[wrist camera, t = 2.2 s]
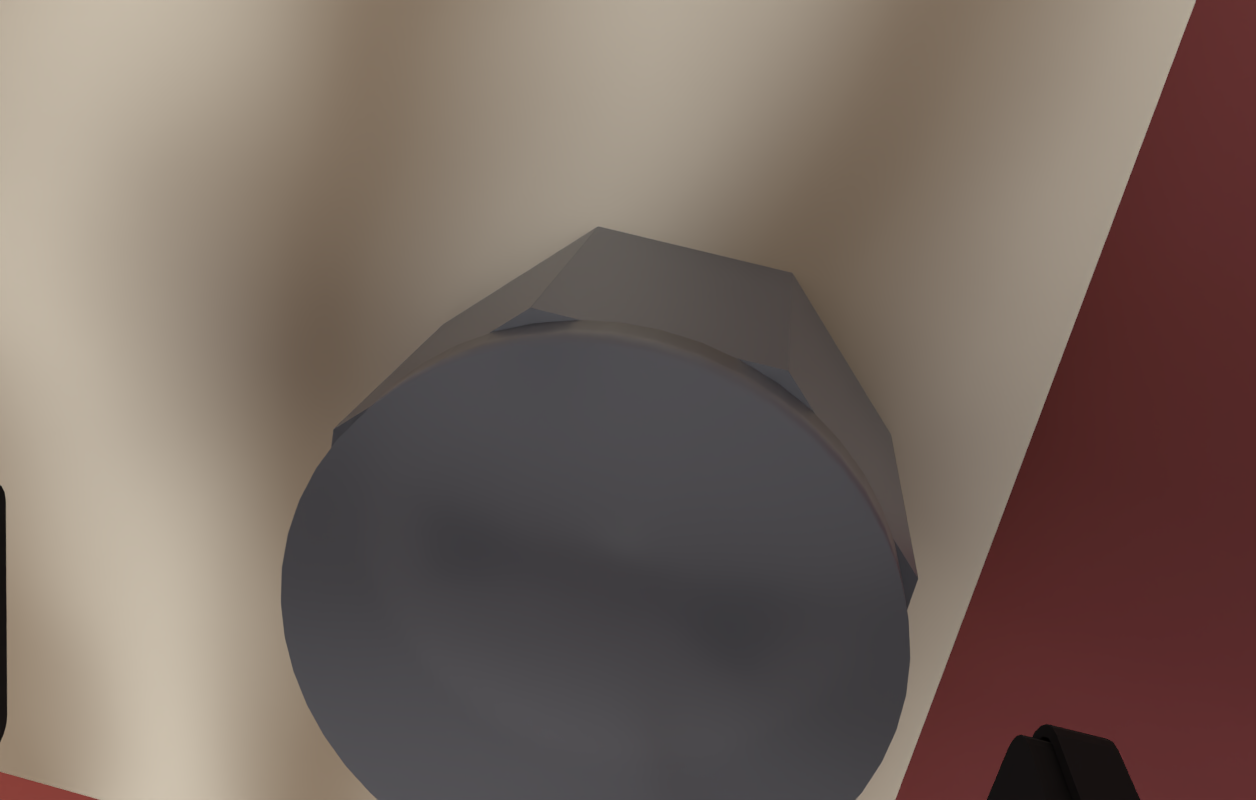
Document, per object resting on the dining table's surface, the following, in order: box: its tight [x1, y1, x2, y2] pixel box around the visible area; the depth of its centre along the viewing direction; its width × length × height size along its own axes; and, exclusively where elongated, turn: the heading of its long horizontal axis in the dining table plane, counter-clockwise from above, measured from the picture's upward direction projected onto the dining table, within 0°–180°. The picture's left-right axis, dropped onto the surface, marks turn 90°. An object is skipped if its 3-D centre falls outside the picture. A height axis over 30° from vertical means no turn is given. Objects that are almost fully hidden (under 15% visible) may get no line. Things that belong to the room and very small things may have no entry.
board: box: [0, 0, 1196, 800], centre depth 13 cm, size 18×26×6 cm
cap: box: [281, 226, 918, 800], centre depth 14 cm, size 7×7×5 cm
